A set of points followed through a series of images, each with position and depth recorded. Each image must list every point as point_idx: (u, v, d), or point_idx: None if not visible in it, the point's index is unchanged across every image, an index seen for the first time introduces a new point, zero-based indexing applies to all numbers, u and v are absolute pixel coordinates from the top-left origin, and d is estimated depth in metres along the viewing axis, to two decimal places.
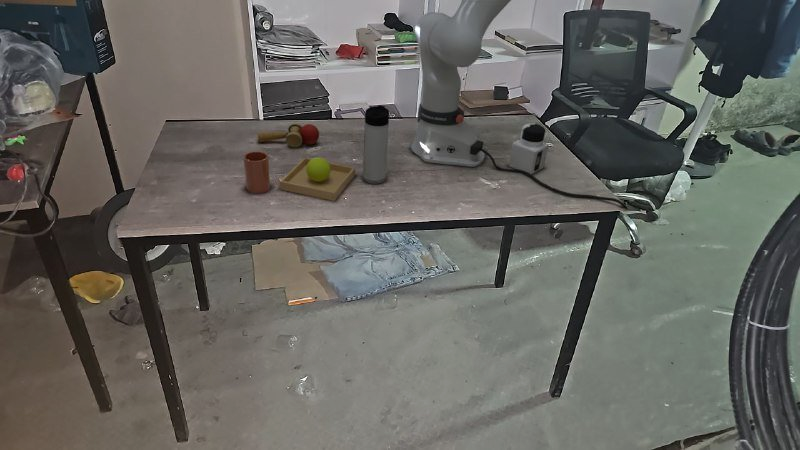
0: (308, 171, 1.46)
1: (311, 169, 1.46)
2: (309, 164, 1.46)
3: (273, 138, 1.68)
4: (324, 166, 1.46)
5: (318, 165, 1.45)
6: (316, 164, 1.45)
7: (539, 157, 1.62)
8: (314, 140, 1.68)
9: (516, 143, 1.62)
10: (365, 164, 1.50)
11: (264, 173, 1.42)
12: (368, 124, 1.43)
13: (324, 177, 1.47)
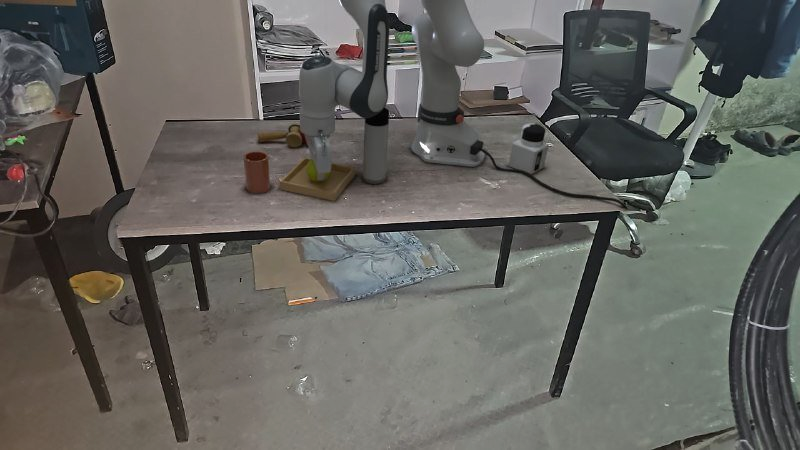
0: (308, 171, 1.46)
1: (311, 169, 1.46)
2: (309, 164, 1.46)
3: (273, 138, 1.68)
4: None
5: None
6: None
7: (539, 157, 1.62)
8: None
9: (516, 143, 1.62)
10: (365, 164, 1.50)
11: (264, 173, 1.42)
12: (368, 124, 1.43)
13: (324, 177, 1.47)
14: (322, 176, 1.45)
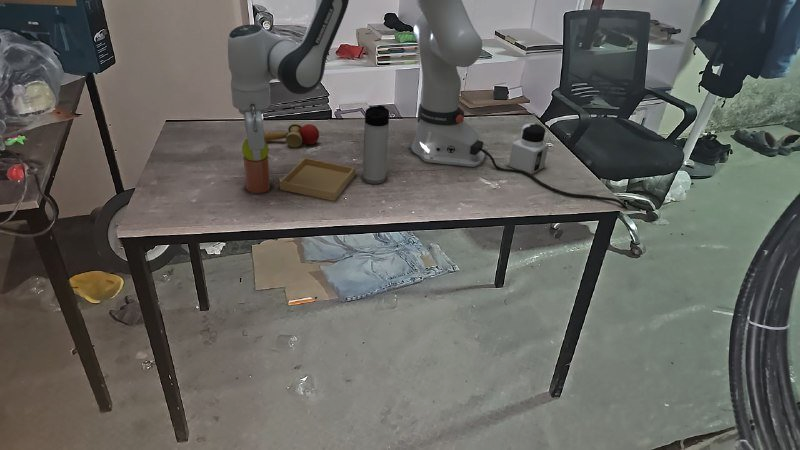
0: (243, 151, 1.38)
1: (246, 148, 1.37)
2: (244, 143, 1.38)
3: (273, 138, 1.68)
4: None
5: None
6: None
7: (539, 157, 1.62)
8: (314, 140, 1.68)
9: (516, 143, 1.62)
10: (365, 164, 1.50)
11: (264, 173, 1.42)
12: (368, 124, 1.43)
13: (261, 157, 1.39)
14: (258, 156, 1.35)
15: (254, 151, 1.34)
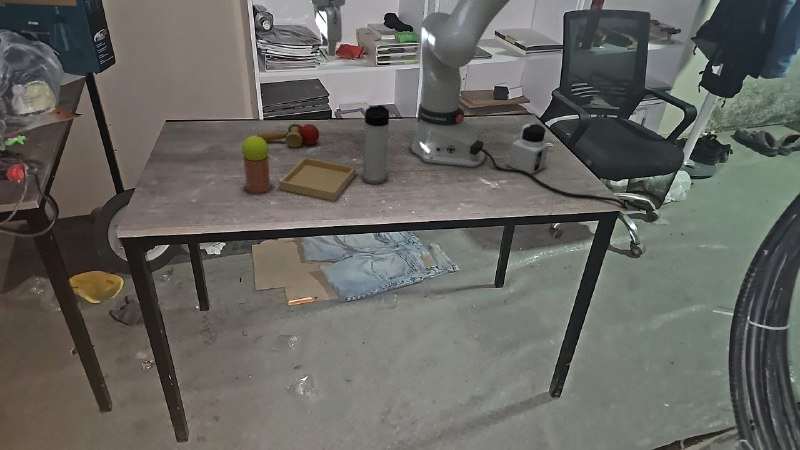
0: (243, 151, 1.38)
1: (246, 148, 1.37)
2: (244, 143, 1.38)
3: (273, 138, 1.68)
4: (260, 145, 1.37)
5: (253, 144, 1.37)
6: (251, 143, 1.37)
7: (539, 157, 1.62)
8: (314, 140, 1.68)
9: (516, 143, 1.62)
10: (365, 164, 1.50)
11: (264, 173, 1.42)
12: (368, 124, 1.43)
13: (261, 157, 1.39)
14: (333, 52, 1.48)
15: (330, 46, 1.47)
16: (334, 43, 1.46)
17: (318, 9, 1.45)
